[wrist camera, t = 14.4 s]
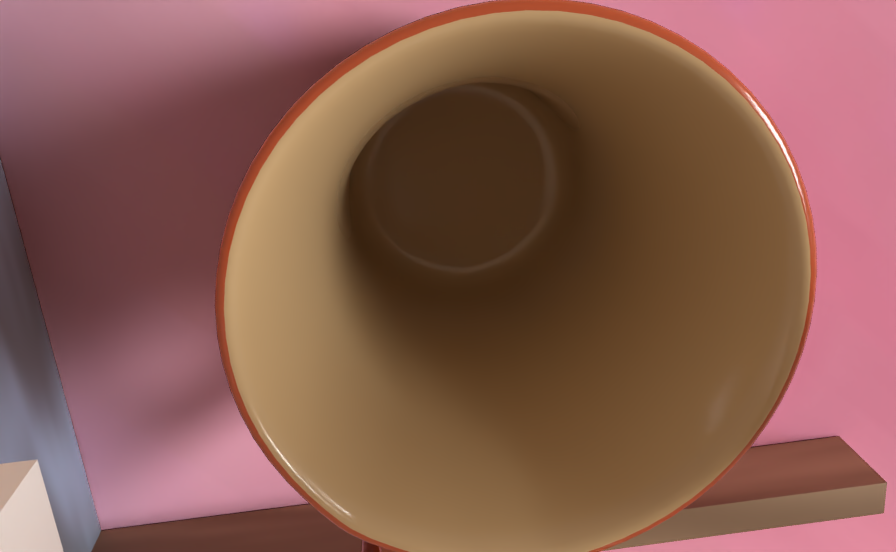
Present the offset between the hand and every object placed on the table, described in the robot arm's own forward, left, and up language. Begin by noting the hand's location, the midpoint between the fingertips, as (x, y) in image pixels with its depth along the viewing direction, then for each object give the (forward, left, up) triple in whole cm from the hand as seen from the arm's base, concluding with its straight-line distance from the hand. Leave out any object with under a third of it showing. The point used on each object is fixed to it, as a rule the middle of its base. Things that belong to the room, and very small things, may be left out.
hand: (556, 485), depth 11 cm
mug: (0, +1, -12) cm, 12 cm away
